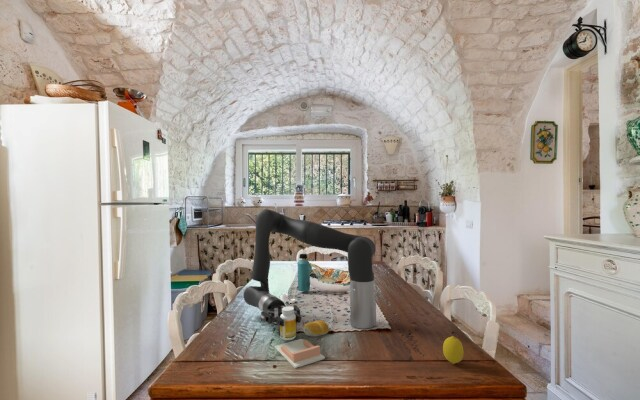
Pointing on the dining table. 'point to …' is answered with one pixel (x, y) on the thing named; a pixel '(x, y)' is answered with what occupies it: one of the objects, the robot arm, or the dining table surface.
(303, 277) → the beverage bottle
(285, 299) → the teacup and saucer
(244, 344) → the dining table surface
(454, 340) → the lemon
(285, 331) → the supplement bottle
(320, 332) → the bread roll
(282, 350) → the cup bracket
